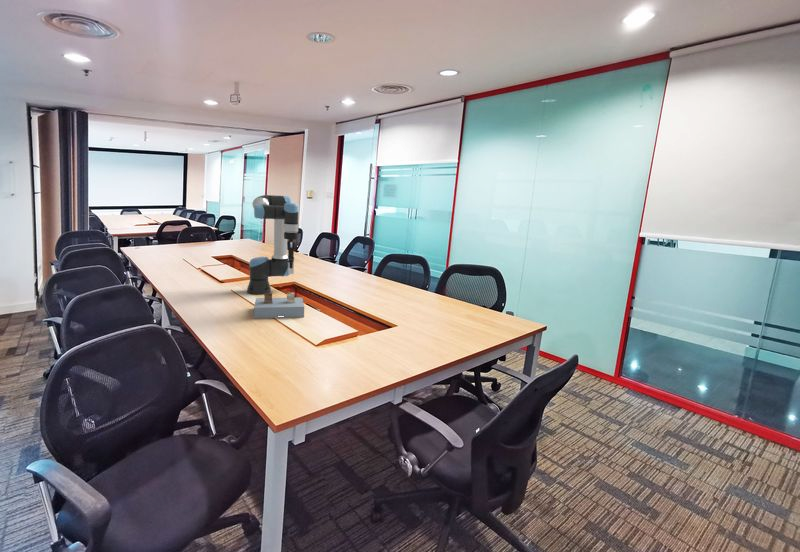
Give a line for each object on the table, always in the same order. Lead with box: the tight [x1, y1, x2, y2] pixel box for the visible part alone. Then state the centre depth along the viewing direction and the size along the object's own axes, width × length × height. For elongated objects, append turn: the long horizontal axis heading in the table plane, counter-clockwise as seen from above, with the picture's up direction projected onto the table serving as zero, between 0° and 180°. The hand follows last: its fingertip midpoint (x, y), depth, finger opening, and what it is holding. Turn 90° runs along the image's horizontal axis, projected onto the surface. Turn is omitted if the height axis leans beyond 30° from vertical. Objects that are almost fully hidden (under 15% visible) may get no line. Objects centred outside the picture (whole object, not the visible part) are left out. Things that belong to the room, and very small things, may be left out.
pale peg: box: [286, 292, 296, 303], centre depth 225 cm, size 4×4×6 cm
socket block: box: [253, 296, 305, 319], centre depth 224 cm, size 20×26×6 cm
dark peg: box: [263, 292, 273, 304], centre depth 222 cm, size 4×4×6 cm
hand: (290, 272), depth 222 cm, fingers open, 9 cm apart
